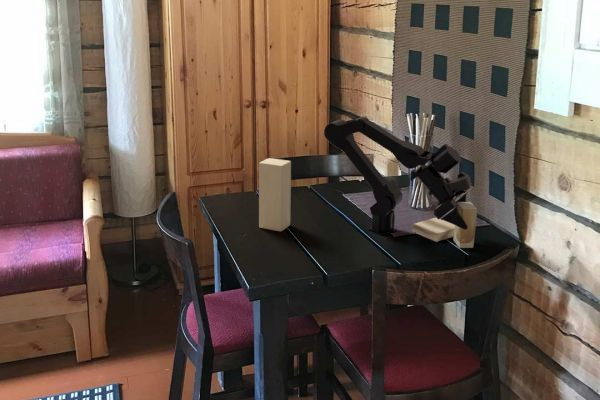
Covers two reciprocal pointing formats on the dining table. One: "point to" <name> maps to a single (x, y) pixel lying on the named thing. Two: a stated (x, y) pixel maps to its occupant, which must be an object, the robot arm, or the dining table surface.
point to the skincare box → (469, 216)
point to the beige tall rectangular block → (274, 194)
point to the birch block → (434, 229)
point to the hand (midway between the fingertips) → (469, 223)
